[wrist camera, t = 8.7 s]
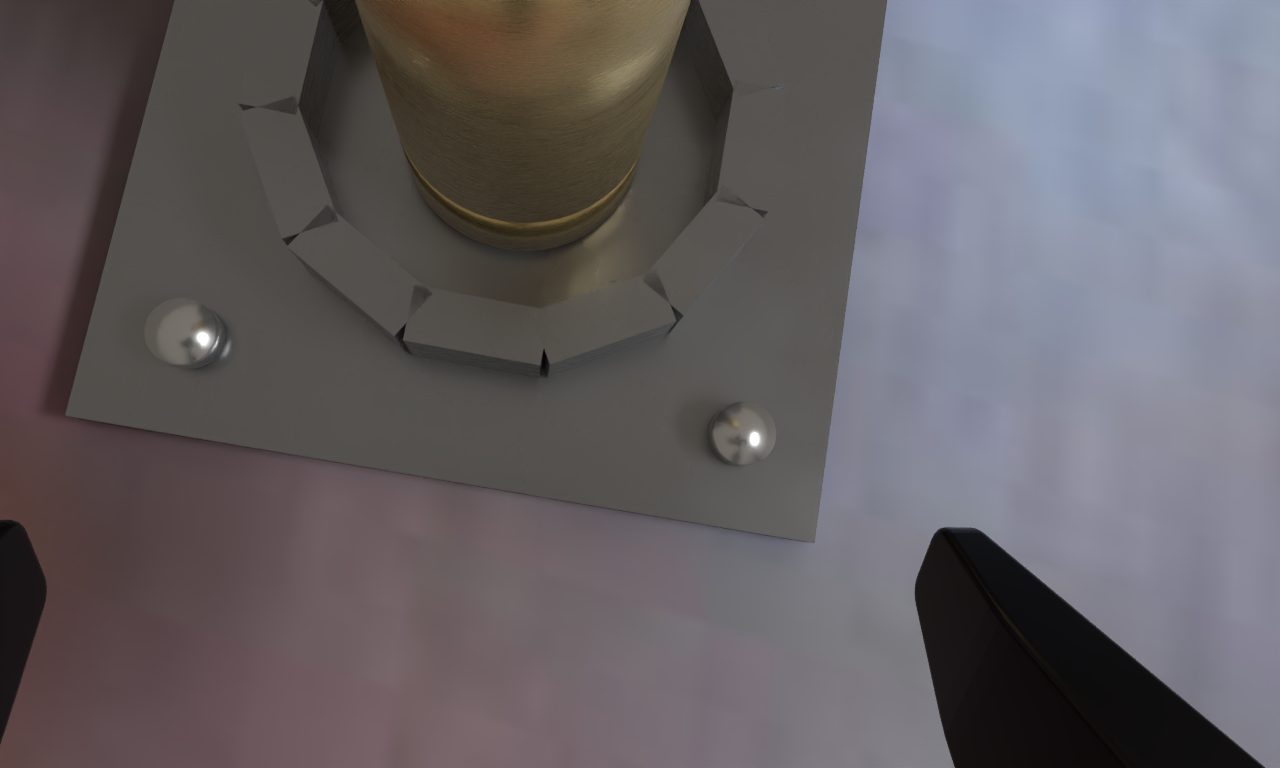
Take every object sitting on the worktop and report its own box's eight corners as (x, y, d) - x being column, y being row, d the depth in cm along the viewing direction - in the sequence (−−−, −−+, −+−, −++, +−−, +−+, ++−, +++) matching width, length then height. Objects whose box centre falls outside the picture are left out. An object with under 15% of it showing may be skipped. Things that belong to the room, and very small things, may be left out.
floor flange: (804, 541, 19) (842, 545, 17) (79, 419, 18) (17, 404, 15) (890, -86, 21) (932, -154, 19) (251, -238, 20) (218, -330, 18)
